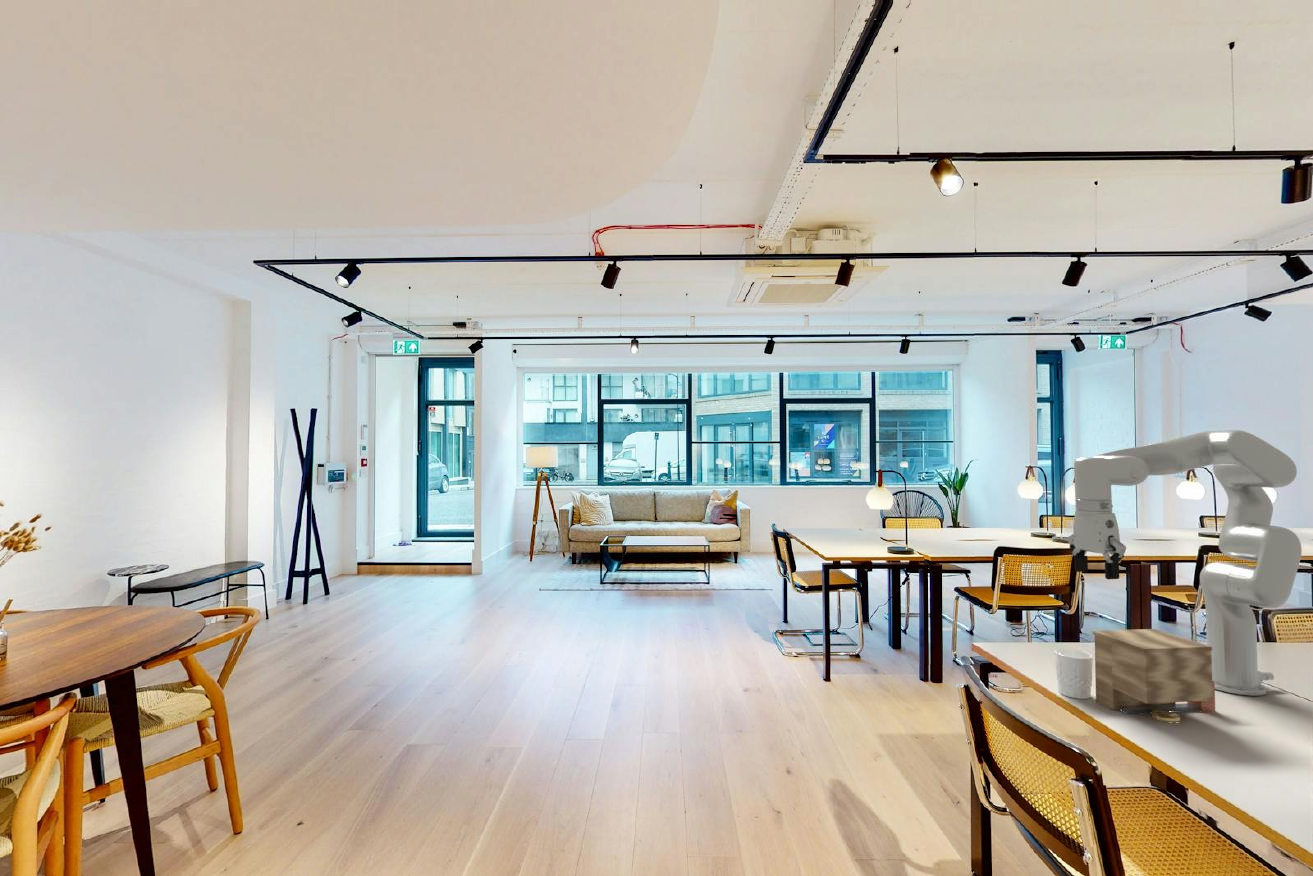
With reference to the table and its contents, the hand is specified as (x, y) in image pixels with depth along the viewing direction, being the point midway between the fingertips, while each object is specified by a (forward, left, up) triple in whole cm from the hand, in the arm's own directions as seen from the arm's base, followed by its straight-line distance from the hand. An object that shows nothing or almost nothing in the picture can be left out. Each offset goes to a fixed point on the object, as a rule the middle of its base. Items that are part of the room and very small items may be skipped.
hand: (1096, 575), depth 157 cm
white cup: (+6, -1, -30) cm, 30 cm away
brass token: (-3, +15, -30) cm, 33 cm away
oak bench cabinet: (-3, +11, -29) cm, 32 cm away
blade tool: (-8, +11, -29) cm, 32 cm away
